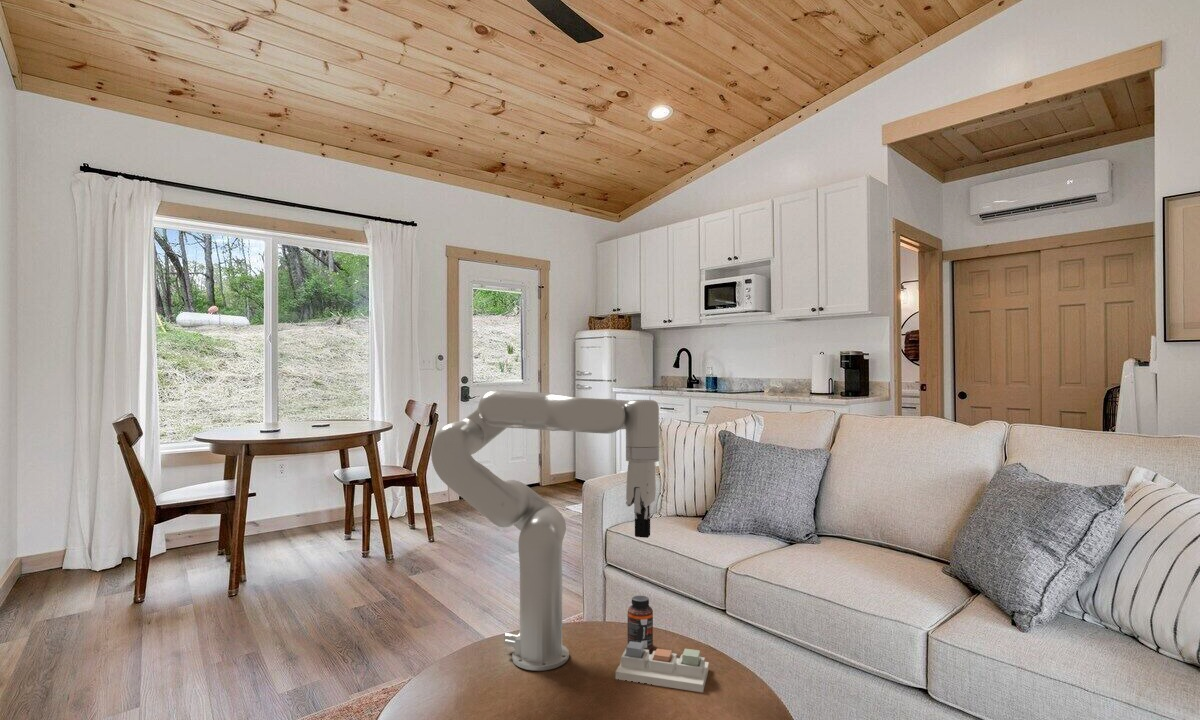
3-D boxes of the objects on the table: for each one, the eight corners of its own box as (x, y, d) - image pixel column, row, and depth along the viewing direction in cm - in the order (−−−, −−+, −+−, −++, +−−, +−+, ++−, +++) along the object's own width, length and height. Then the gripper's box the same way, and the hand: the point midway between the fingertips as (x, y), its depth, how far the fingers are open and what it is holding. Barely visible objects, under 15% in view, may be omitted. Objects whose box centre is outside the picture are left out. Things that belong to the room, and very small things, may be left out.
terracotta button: (653, 666, 120) (653, 654, 121) (656, 659, 124) (656, 648, 124) (669, 668, 120) (668, 656, 120) (671, 661, 123) (671, 650, 123)
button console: (615, 679, 119) (615, 661, 120) (627, 657, 129) (627, 641, 129) (702, 692, 114) (702, 674, 114) (708, 669, 124) (708, 652, 124)
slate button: (626, 658, 122) (626, 647, 122) (629, 652, 125) (629, 641, 125) (640, 661, 121) (640, 649, 122) (644, 654, 124) (644, 643, 125)
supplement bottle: (651, 654, 131) (651, 603, 131) (625, 652, 132) (625, 601, 132) (654, 643, 136) (654, 594, 137) (629, 641, 138) (629, 592, 138)
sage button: (682, 667, 119) (682, 655, 119) (684, 660, 122) (684, 648, 122) (698, 669, 118) (697, 657, 118) (700, 662, 121) (699, 650, 121)
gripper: (634, 450, 139) (634, 527, 138) (617, 457, 124) (617, 543, 123) (664, 451, 136) (665, 530, 135) (651, 458, 122) (651, 546, 121)
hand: (642, 536), depth 129 cm, fingers closed
